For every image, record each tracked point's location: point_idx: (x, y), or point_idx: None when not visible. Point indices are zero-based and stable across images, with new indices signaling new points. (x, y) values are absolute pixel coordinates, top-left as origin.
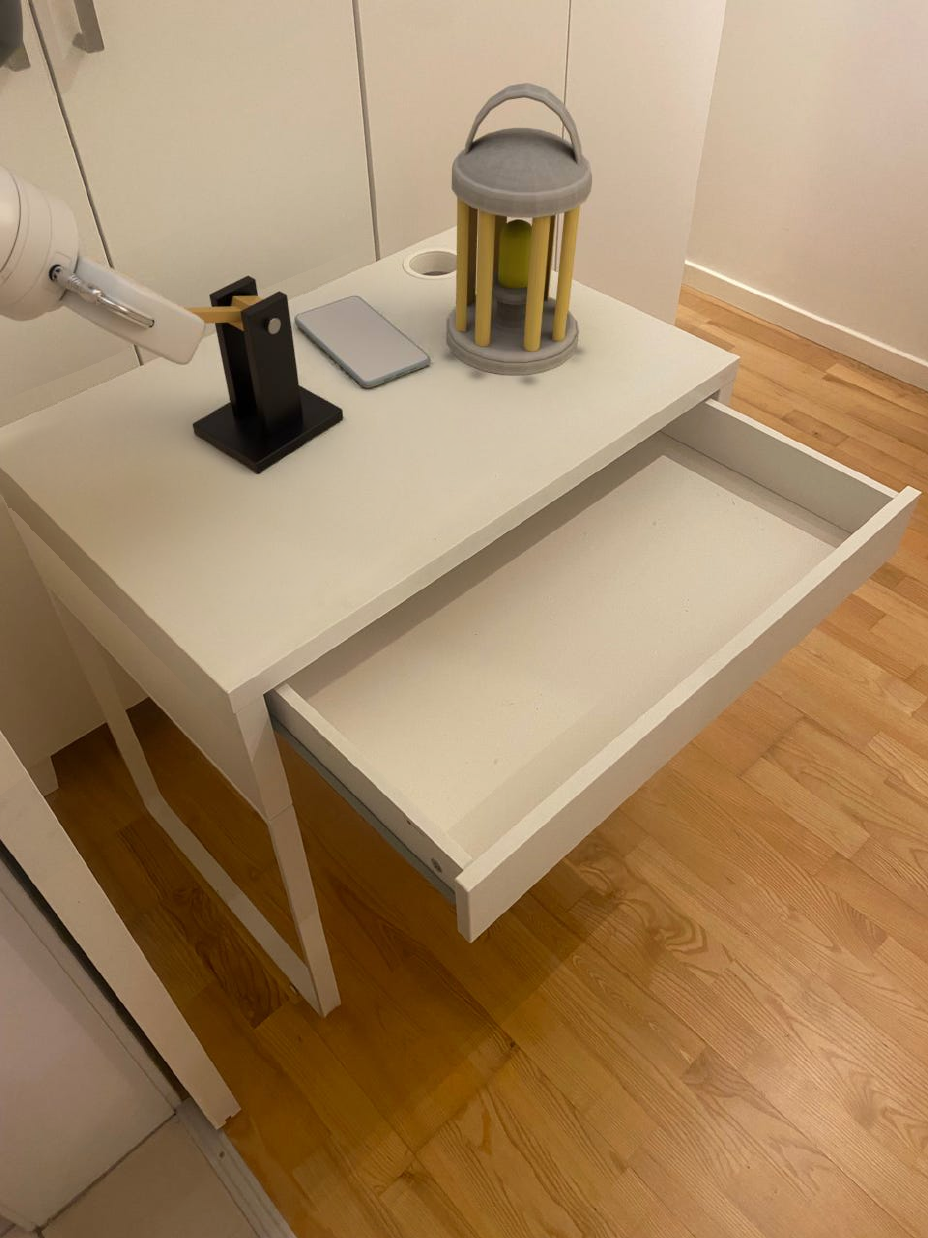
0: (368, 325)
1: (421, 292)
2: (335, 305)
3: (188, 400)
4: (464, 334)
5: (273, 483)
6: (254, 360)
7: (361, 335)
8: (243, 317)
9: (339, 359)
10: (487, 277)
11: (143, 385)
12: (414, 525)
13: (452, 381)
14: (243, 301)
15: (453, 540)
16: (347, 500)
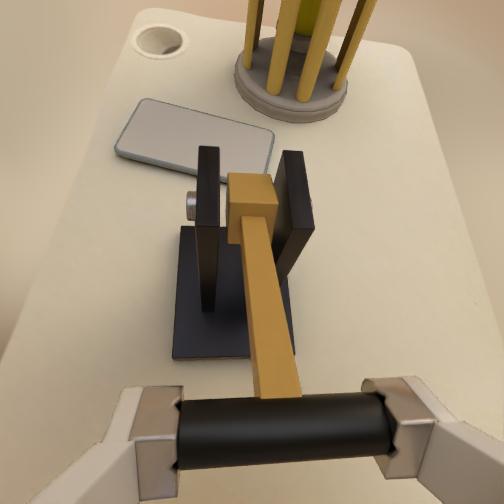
0: (191, 124)
1: (182, 71)
2: (138, 117)
3: (113, 320)
4: (282, 96)
5: (315, 355)
6: (288, 270)
7: (198, 138)
8: (297, 234)
9: None
10: (332, 27)
11: (33, 340)
12: (450, 302)
13: (303, 144)
14: (260, 202)
15: (484, 293)
16: (386, 319)
